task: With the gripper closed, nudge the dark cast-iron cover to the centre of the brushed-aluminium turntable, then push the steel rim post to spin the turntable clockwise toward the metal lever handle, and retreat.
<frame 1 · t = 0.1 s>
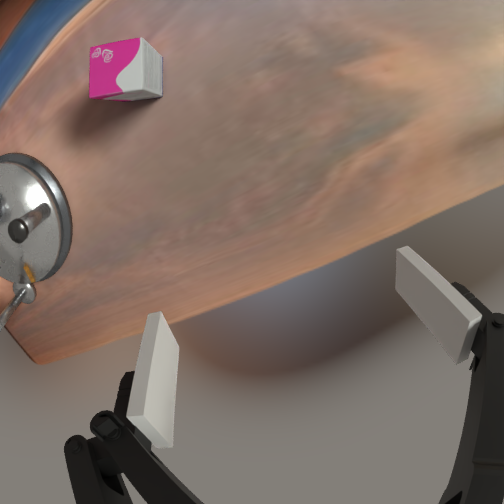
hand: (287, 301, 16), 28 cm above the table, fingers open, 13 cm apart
supplement box: (141, 78, 33), on the table
metal lever handle: (25, 289, 44), on the table
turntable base: (17, 219, 38), on the table
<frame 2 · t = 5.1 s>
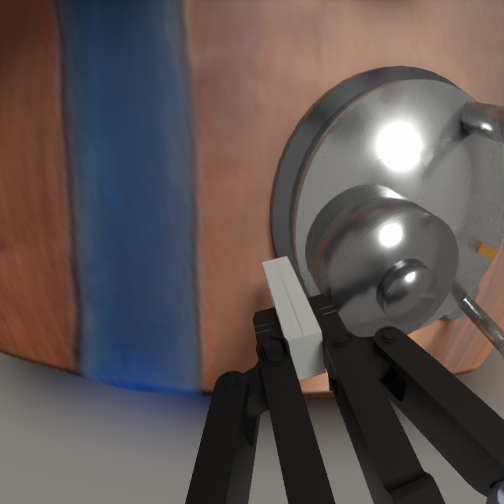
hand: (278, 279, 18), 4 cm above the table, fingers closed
cover: (364, 244, 19), point 3 cm above the table, touching turntable
turntable: (455, 242, 16), point 6 cm above the table, hinge at 0.0°, touching cover
metal lever handle: (457, 294, 27), on the table
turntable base: (407, 209, 22), on the table
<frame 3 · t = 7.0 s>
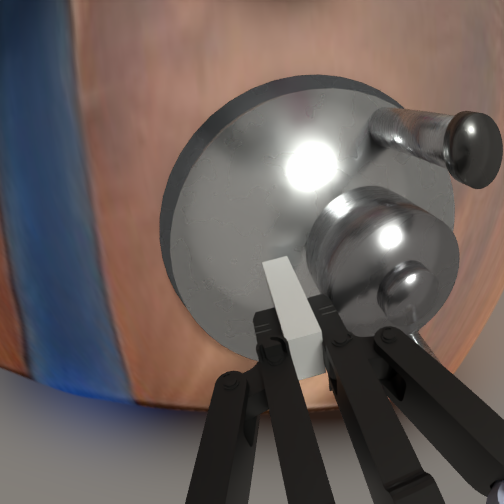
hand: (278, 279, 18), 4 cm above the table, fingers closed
cover: (364, 246, 19), point 3 cm above the table, touching gripper, turntable
turntable: (352, 277, 16), point 6 cm above the table, hinge at 0.1°, touching cover
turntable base: (318, 233, 22), on the table
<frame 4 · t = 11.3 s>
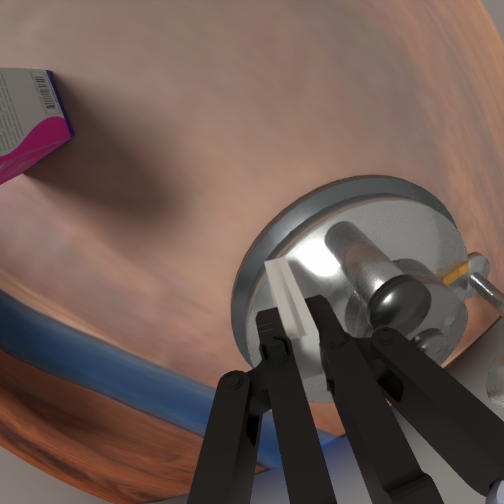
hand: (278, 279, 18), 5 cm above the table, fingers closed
supplement box: (33, 123, 16), on the table
cover: (391, 304, 22), point 3 cm above the table, touching turntable
turntable: (389, 349, 20), point 6 cm above the table, hinge at -5.1°, touching cover, gripper
metal lever handle: (468, 273, 26), on the table
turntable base: (358, 301, 25), on the table
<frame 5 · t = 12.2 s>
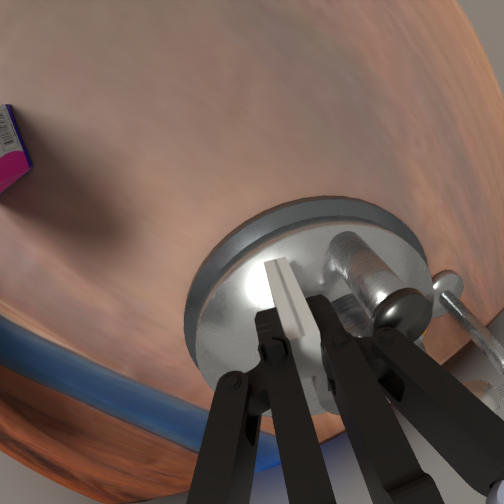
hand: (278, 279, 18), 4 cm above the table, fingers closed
cover: (350, 334, 23), point 3 cm above the table, touching turntable
turntable: (337, 373, 20), point 6 cm above the table, hinge at -33.5°, touching cover, gripper
metal lever handle: (439, 291, 26), on the table
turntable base: (315, 321, 26), on the table
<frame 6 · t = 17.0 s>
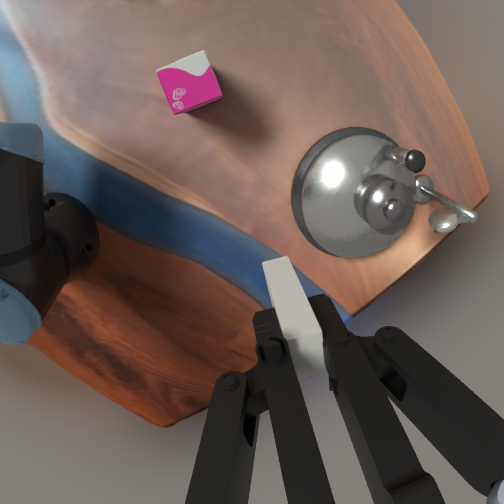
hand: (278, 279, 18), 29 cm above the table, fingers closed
supplement box: (196, 88, 38), on the table
cover: (376, 198, 45), point 3 cm above the table, touching turntable
turntable: (373, 206, 42), point 6 cm above the table, hinge at -55.4°, touching cover
metal lever handle: (420, 188, 48), on the table
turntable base: (356, 194, 48), on the table
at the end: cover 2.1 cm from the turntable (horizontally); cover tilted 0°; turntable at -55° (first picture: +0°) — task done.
